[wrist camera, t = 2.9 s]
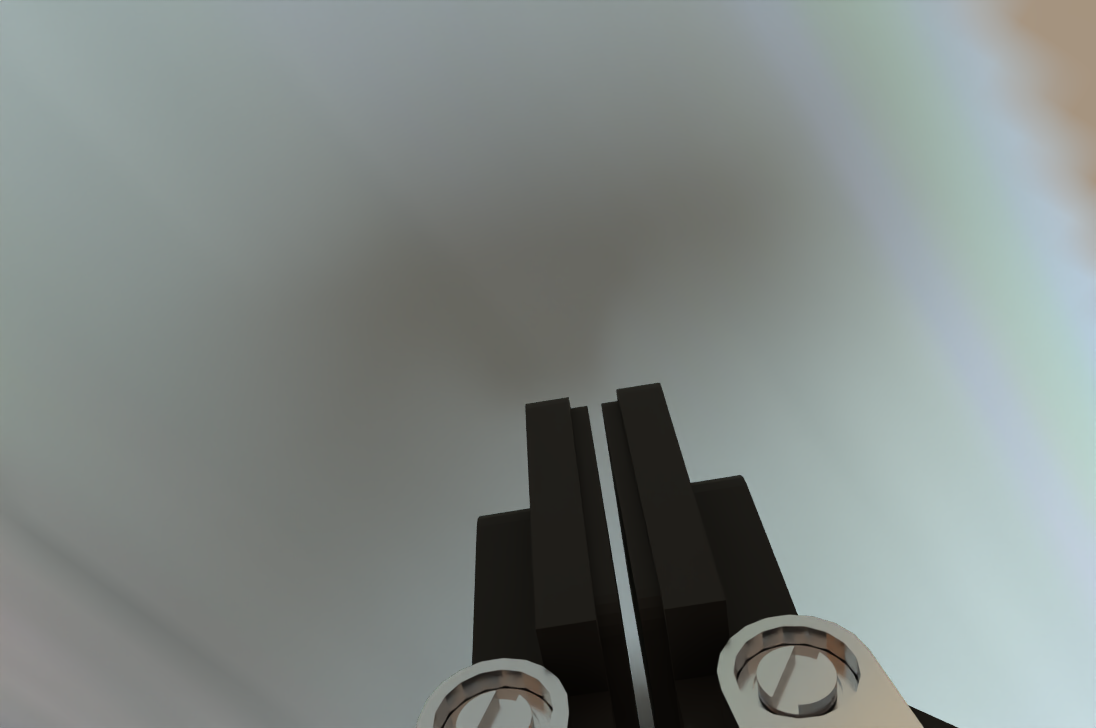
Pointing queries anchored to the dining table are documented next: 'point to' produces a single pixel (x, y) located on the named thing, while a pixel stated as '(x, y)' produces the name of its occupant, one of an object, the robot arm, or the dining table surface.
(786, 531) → the dining table surface
